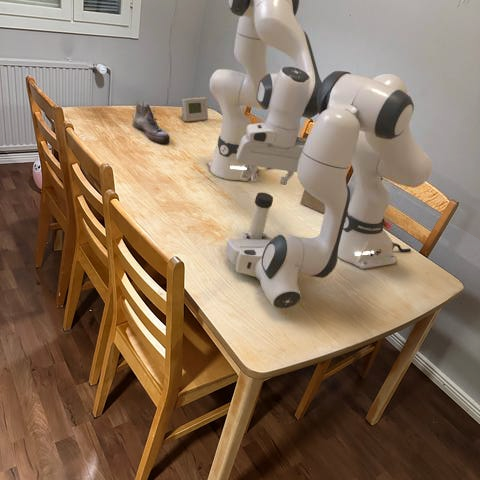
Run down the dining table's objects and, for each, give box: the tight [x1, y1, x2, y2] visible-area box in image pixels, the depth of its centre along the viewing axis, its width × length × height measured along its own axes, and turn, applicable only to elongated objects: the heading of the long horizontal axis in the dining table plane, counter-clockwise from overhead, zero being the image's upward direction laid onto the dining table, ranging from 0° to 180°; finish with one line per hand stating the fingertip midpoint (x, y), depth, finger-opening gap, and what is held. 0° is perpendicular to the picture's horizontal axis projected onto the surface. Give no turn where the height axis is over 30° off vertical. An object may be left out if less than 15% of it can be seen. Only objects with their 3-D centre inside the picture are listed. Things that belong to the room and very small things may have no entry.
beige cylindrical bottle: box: [247, 203, 271, 240], centre depth 130 cm, size 4×4×18 cm
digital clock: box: [181, 96, 209, 123], centre depth 223 cm, size 16×9×11 cm, turn 123°
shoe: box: [132, 101, 171, 145], centre depth 195 cm, size 25×11×12 cm, turn 30°
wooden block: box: [300, 188, 325, 214], centre depth 165 cm, size 10×10×20 cm
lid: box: [254, 192, 274, 209], centre depth 125 cm, size 5×5×2 cm
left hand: (268, 182), depth 122 cm, fingers open, 7 cm apart
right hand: (253, 235), depth 132 cm, fingers closed on beige cylindrical bottle, 4 cm apart
